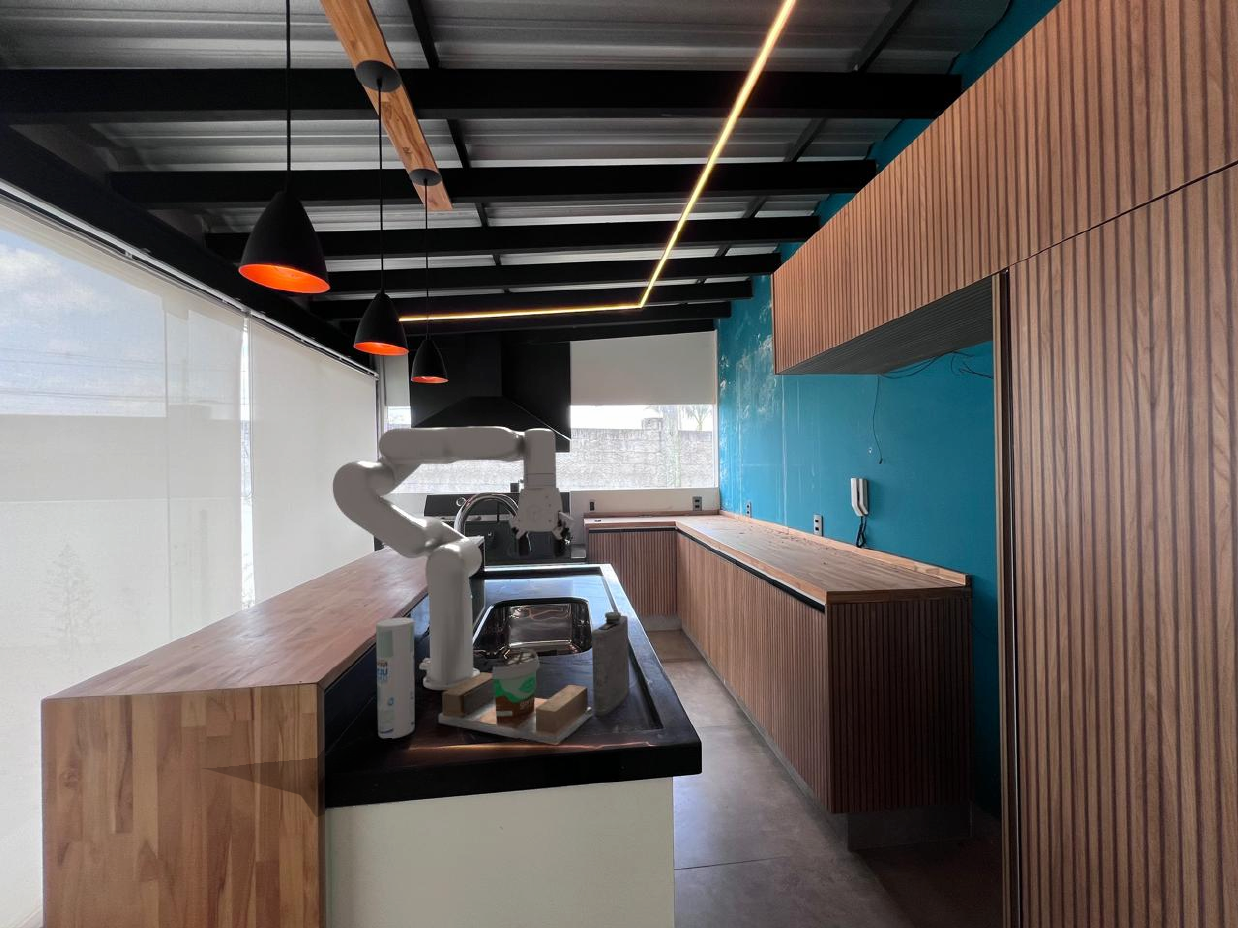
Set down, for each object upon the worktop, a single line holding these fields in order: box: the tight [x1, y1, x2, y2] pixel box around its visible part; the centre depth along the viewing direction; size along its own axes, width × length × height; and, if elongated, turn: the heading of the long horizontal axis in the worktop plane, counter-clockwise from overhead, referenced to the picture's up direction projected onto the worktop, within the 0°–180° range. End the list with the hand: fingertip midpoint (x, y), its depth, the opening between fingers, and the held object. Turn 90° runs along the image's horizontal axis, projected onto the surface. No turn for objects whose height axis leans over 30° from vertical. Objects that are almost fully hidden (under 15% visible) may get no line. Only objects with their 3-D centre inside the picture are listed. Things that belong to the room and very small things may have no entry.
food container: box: [491, 647, 540, 720], centre depth 103 cm, size 12×6×10 cm, turn 164°
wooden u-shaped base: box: [438, 671, 592, 743], centre depth 103 cm, size 26×13×6 cm, turn 66°
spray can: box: [375, 617, 415, 740], centre depth 100 cm, size 6×6×20 cm
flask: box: [591, 611, 631, 717], centre depth 111 cm, size 4×14×18 cm, turn 158°
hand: (541, 555), depth 125 cm, fingers open, 9 cm apart
